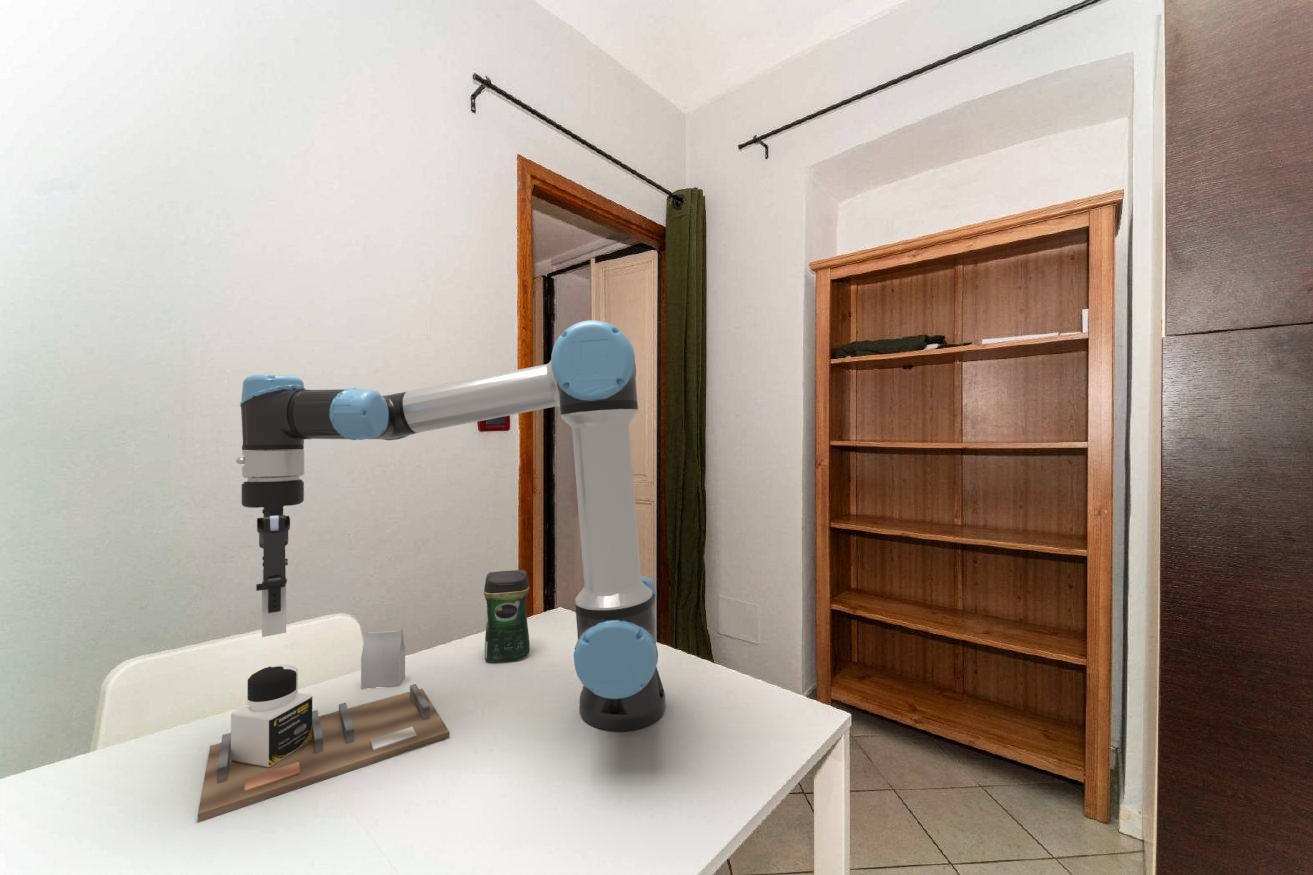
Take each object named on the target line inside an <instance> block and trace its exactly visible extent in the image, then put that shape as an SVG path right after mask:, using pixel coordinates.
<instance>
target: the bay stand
mask: <svg viewBox="0 0 1313 875" xmlns="http://www.w3.org/2000/svg"><path fill="white" fill-rule="evenodd" d="M346 702H347V701H346ZM346 702H343V703H339V704H338V710H337V711H333V712H329V713H326V714H321V715H319V711H318V709H315V710H312V740H311V741H310V742H308V743H307V744H305V745H304V746H302V747H300V748H299V749H297V750H296V751H294V752H293V753H291V754H290V755H288V756H287V757H285V758H284V759H282V760H280V761H279V762H277V763H276V764H274V765H273V766H271V767H264V766H258V765H252V764H247V763H241V762H235V761H231V732H229V733H225V734H222V735H221V742H219V743H214V744H211V745H209V750H208V754H207V760H206V767H205V772H204V777H203V784H202V788H201V793H200V799H199V805H198V810H197V823H200V822H202V821H206V820H208V819H212V818H215V817H217V816H221V815H224V814H227V813H230V812H232V811H236V810H239V809H241V808H245V807H247V806H251V805H253V804H256V803H260V802H262V801H265V800H269V799H271V798H273V797H278V796H280V795H283V794H287V793H289V792H292V791H295V790H298V789H301V788H304V787H306V786H310V785H313V784H317V783H319V782H322V781H325V780H327V779H331V778H333V777H337V776H340V775H343V774H346V773H349V772H351V771H354V770H357V769H358V770H359V769H360V768H363V767H366V766H369V765H370V766H371V765H372V764H375V763H379V762H381V761H384V760H388V759H390V758H393V757H396V756H399V755H402V754H405V753H408V752H412V751H414V750H417V749H420V748H424V747H425V746H429V745H431V744H435V743H438V742H441V741H444V740H448V739H450V730H449V728H448V727H447V725H446V724H445V722H444V720H443V718H442V717H441V716H440V714H439V712H438V711H437V709H436V708H435V707H434V704H433V703H432V702H431V700H430V698H429V697H428V696H427V694H426V692H425V690H424V689H423V688H422V687H421V688H419V687H418V685H417V683H415V684H414V683H413V684H410V685H409V691H406V692H403V693H400V694H396V695H392V696H388V697H384V698H382V699H378V700H373V701H370V702H366V703H363V704H359V705H356V706H351V707H348V704H347V703H346Z"/></svg>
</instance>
